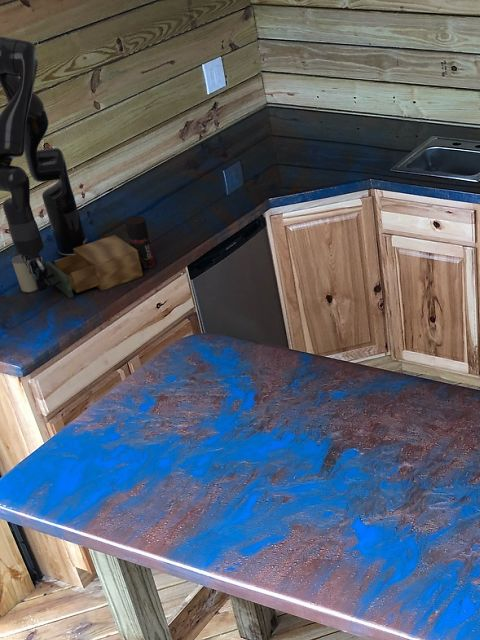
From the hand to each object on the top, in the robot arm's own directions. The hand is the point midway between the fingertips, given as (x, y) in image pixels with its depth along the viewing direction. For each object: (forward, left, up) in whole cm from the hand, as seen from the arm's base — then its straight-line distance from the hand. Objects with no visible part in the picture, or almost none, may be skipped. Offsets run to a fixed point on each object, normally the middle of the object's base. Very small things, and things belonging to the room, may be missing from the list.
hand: (42, 289), depth 268 cm
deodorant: (-1, +33, -4) cm, 33 cm away
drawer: (-2, +10, -3) cm, 10 cm away
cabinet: (-2, +22, -4) cm, 22 cm away
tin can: (-11, 0, -4) cm, 12 cm away
